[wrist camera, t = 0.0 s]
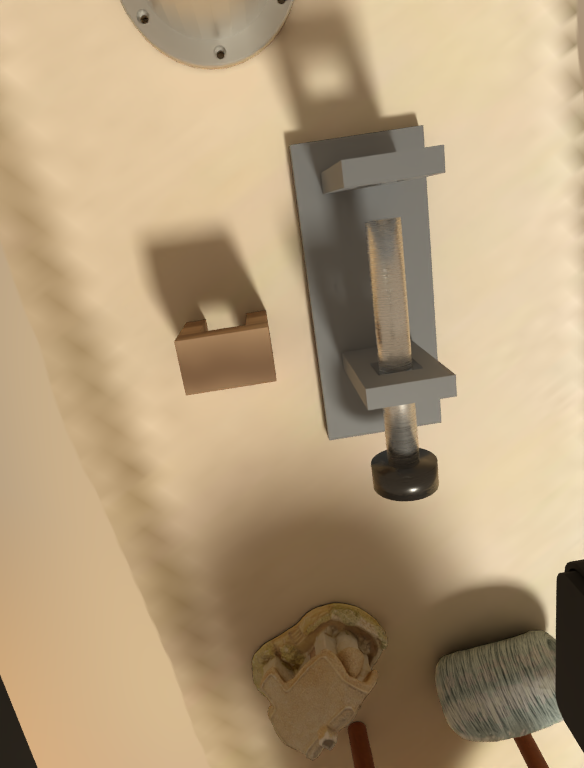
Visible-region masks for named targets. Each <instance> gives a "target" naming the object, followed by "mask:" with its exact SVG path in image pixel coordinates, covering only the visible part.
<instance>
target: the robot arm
mask: <svg viewBox="0 0 584 768" xmlns="http://www.w3.org/2000/svg"><path fill="white" fill-rule="evenodd" d="M120 1H121V3H122V5H123V7H124V9H125V12H126V13H127V15H128V17H129V18H130V20H131V21H132V23H133V24H134V26H135V27H136V28H137V29H138V31H139V32H140V33H141V34H142V35H143V37H144V38H145V39H146V40H147V41H148V42H149V43H150V44H151V45H153V46H154V47H155V48H156V49H157V50H158V51H160V52H161V53H162V54H164V55H166V56H168V57H169V58H171V59H173V60H174V61H176V62H179V63H182V64H185V65H188V66H191V67H194V68H202V69H210V70H211V69H222V68H229V67H232V66H235V65H238V64H241V63H244V62H245V61H247V60H249V59H251V58H252V57H254V56H256V55H258V54H259V53H260V52H261V51H262V50H263V49H264V48H265V47H267V46H268V45H269V44H270V43H271V42H272V40H273V39H274V38H275V37H276V35H277V34H278V33H279V31H280V30H281V29H282V27H283V25H284V23H285V21H286V19H287V17H288V15H289V13H290V10H291V7H292V3H293V0H284V1H285V2H284V4H279V3H278V1H277V0H120ZM144 17H147V18H148V23H146V24H143V23H142V19H143V18H144ZM219 52H222V53H223V54H224V57H223V58H222V59H219V58H218V57H217V54H218V53H219ZM555 696H556V701H557V705H558V708H559V711H560V713H561V716H562V718H563V719H564V721H565V723H566V725H567V726H568V728H569V730H570V731H571V733H572V734H573V736H574V738H575V739H576V741H577V743H578V744H579V746H580V747H581V749H582V751H583V752H584V560H578V561H572V562H569V563H567V565H566V566H565V572H563V573H559V574H558V576H557V590H556V674H555ZM0 768H37V765H36V763H35V760H34V758H33V755H32V753H31V751H30V748H29V746H28V743H27V741H26V738H25V736H24V733H23V731H22V728H21V726H20V723H19V721H18V718H17V716H16V713H15V711H14V709H13V706H12V703H11V701H10V698H9V696H8V693H7V691H6V688H5V686H4V684H3V681H2V679H1V676H0Z"/></svg>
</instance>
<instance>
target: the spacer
mask: <svg viewBox="0 0 584 768" xmlns="http://www.w3.org/2000/svg"><path fill="white" fill-rule="evenodd" d="M174 343H175V347H176V352H177V357H178V361H179V366H180V370H181V375H182V379H183V384H184V389H185V393H186V395H191V394H198V393H204V392H210V391H217V390H223V389H229V388H236V387H242V386H248V385H255V384H261V383H267V382H274V381H276V373H275V366H274V358H273V352H272V345H271V339H270V333H269V327H268V320H267V314H266V310H264V311H258V312H252V313H247V315H246V325H243V326H237V327H230V328H224V329H217V330H211V331H208V328H207V323H206V320H200V321H194V322H187V323H186V324H185V326H184V327H183V329H182V330H181V332H180V334H179V335H178V337H177V338H176V340H175V341H174Z"/></svg>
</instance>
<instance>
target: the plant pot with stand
mask: <svg viewBox="0 0 584 768" xmlns="http://www.w3.org/2000/svg"><path fill="white" fill-rule="evenodd" d="M348 734H349V739H350V745H351V750H352V756H353V761H354V767H355V768H375V767H374V762H373V758H372V753H371V749H370V744H369V739H368V735H367V730H366V726H365V725H364V724H363V723H362V722H354V723H352V724H351V725H350V726H349V727H348ZM514 740H515V742H516V744H517V746H518V748H519V750H520V752H521V754H522V756H523V758H524V760H525V762H526V764H527V766H528V768H549V767H548V765H547V763H546V761H545V759H544V757H543V756H542V754H541V752H540V750H539V748H538V746H537V744H536V743H535V741H534V739H533V737H532V735H531V733H530V734H527V735H524V736H521V737H515V738H514Z"/></svg>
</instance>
